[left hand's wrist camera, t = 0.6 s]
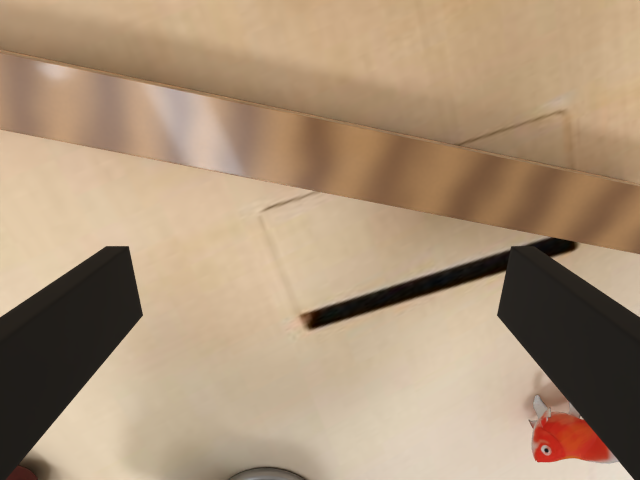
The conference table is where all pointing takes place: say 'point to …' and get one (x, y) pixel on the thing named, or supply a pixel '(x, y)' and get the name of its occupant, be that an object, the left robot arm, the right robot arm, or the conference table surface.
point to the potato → (22, 474)
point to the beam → (313, 152)
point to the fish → (565, 437)
